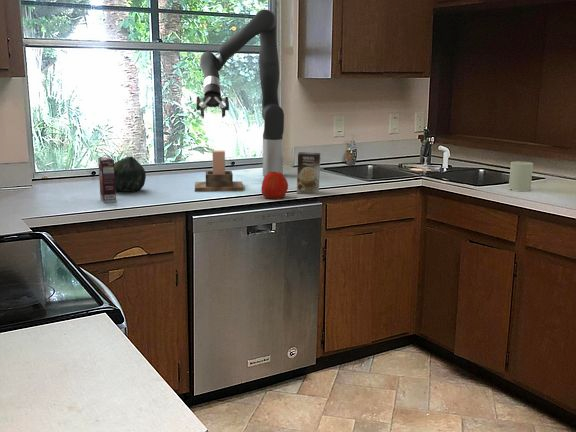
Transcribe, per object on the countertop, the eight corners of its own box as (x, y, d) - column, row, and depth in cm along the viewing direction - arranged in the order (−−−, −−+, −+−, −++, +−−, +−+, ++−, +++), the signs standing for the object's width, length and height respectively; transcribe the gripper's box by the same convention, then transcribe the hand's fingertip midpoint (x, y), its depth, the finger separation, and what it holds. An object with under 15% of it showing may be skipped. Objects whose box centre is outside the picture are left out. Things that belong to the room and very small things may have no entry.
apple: (291, 196, 252) (292, 170, 250) (280, 201, 243) (280, 173, 241) (268, 194, 256) (268, 168, 254) (256, 198, 247) (256, 171, 245)
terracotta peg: (224, 183, 271) (224, 150, 268) (225, 185, 266) (224, 151, 263) (212, 183, 270) (212, 150, 267) (213, 185, 265) (212, 152, 262)
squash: (104, 174, 264) (108, 150, 253) (141, 174, 270) (146, 150, 259) (108, 202, 257) (112, 178, 246) (146, 201, 263) (151, 177, 252)
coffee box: (296, 193, 259) (296, 153, 255) (297, 190, 265) (298, 152, 261) (318, 194, 258) (319, 154, 254) (319, 191, 264) (320, 152, 260)
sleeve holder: (241, 184, 277) (241, 169, 275) (243, 191, 262) (243, 175, 261) (195, 185, 274) (195, 170, 273) (194, 191, 260) (194, 175, 258)
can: (530, 188, 277) (533, 161, 274) (531, 192, 268) (533, 163, 265) (508, 187, 280) (510, 159, 277) (508, 190, 271) (510, 162, 268)
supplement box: (99, 198, 243) (97, 157, 239) (112, 198, 245) (110, 156, 241) (103, 203, 235) (101, 160, 231) (116, 202, 237) (114, 159, 233)
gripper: (195, 82, 282) (196, 110, 273) (228, 82, 284) (229, 110, 275) (196, 94, 288) (196, 121, 279) (227, 94, 290) (229, 121, 281)
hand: (213, 116), depth 277 cm, fingers open, 8 cm apart
